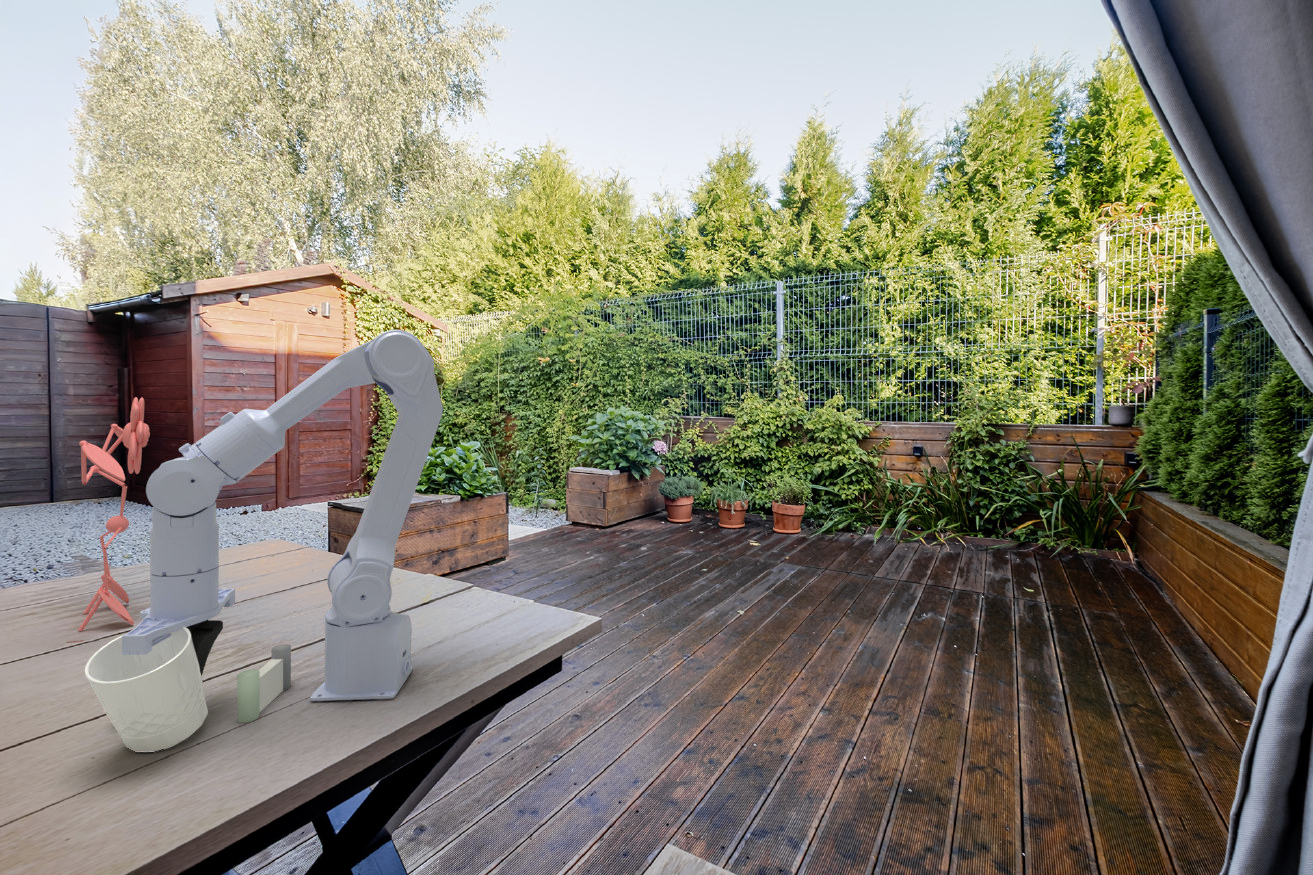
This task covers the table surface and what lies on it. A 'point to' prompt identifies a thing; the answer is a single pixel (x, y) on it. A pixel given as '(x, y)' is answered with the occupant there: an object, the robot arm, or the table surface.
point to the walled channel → (263, 684)
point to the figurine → (134, 440)
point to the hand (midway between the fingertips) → (184, 692)
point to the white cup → (150, 691)
